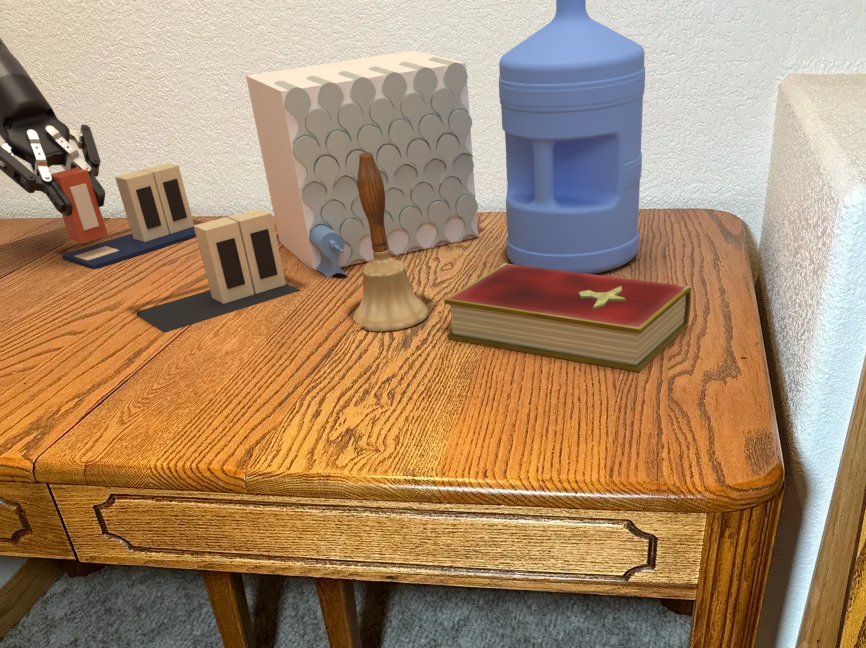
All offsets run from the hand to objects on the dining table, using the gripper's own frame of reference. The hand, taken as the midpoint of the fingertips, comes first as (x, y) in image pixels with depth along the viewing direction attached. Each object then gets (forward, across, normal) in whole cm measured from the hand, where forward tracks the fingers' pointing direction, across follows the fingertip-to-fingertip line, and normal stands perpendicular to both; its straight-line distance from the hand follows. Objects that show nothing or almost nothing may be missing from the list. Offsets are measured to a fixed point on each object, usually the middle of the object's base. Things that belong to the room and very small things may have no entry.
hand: (85, 206), depth 118 cm
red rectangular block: (+2, 0, +4) cm, 5 cm away
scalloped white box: (+27, +23, -18) cm, 40 cm away
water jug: (+44, +32, -34) cm, 64 cm away
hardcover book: (+54, +13, -44) cm, 71 cm away
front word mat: (+26, -2, -17) cm, 31 cm away
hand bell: (+41, +6, -31) cm, 52 cm away
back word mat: (+4, +6, +6) cm, 9 cm away
